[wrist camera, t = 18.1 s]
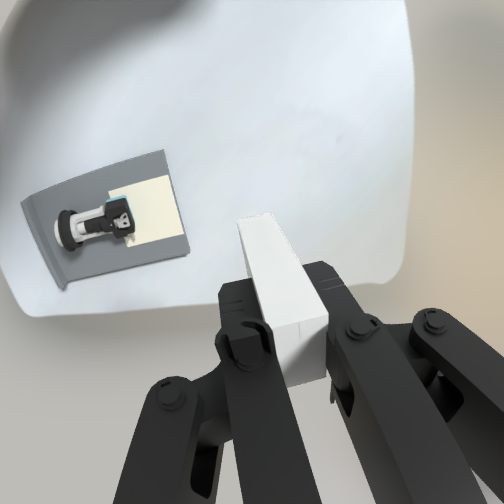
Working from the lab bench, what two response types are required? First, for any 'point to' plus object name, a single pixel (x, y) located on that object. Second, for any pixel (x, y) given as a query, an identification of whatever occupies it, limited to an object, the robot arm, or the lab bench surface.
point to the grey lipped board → (95, 195)
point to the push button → (95, 223)
